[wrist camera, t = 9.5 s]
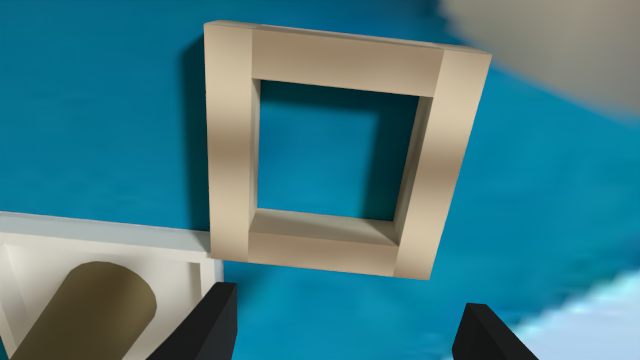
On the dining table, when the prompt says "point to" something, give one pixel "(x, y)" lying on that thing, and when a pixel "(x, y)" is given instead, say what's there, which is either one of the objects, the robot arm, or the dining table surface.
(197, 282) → the tray
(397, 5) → the dining table surface
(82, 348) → the olive tall rounded piece
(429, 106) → the frame
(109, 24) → the dining table surface
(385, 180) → the dining table surface
